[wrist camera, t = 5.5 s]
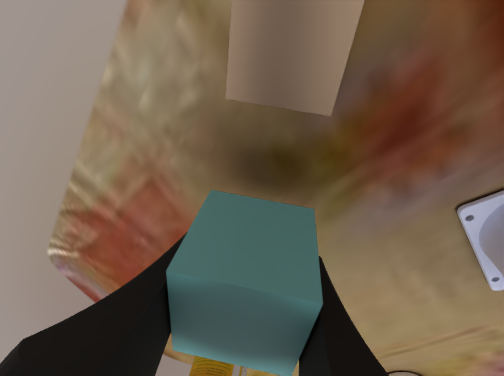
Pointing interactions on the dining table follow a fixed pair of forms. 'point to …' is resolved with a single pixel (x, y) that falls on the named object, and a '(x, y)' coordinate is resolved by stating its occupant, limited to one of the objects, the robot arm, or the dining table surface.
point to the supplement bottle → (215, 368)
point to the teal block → (246, 283)
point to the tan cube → (290, 52)
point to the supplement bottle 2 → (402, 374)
